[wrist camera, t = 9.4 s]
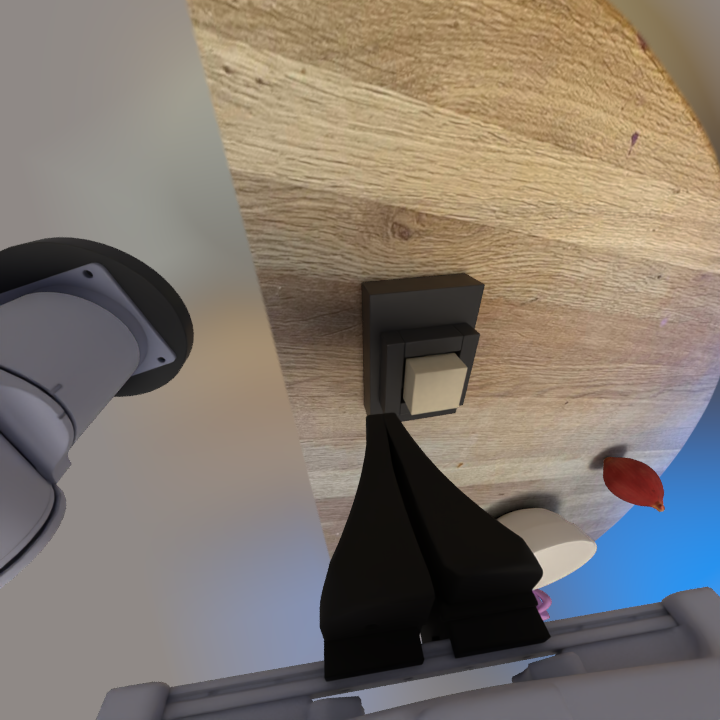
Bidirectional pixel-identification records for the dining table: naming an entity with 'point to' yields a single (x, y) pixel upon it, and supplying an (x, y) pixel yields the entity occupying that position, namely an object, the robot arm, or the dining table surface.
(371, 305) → the switch plate
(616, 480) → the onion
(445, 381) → the switch
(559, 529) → the bowl
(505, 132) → the dining table surface
